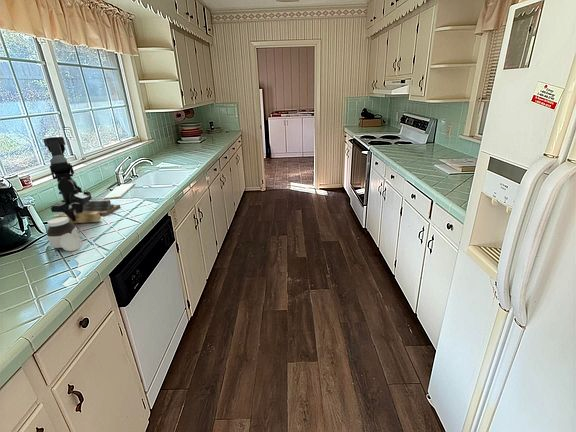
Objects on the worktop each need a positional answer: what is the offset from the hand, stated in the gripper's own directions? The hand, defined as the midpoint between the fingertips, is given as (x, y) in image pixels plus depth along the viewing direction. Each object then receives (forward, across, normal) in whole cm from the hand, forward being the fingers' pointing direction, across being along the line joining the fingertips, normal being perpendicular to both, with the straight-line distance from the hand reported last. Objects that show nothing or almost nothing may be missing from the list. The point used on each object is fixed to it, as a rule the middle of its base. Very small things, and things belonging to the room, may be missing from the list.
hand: (77, 219), depth 152 cm
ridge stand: (+2, +16, +3) cm, 16 cm away
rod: (+1, 0, 0) cm, 1 cm away
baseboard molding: (+3, +52, +15) cm, 54 cm away
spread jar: (+2, -25, -17) cm, 30 cm away
